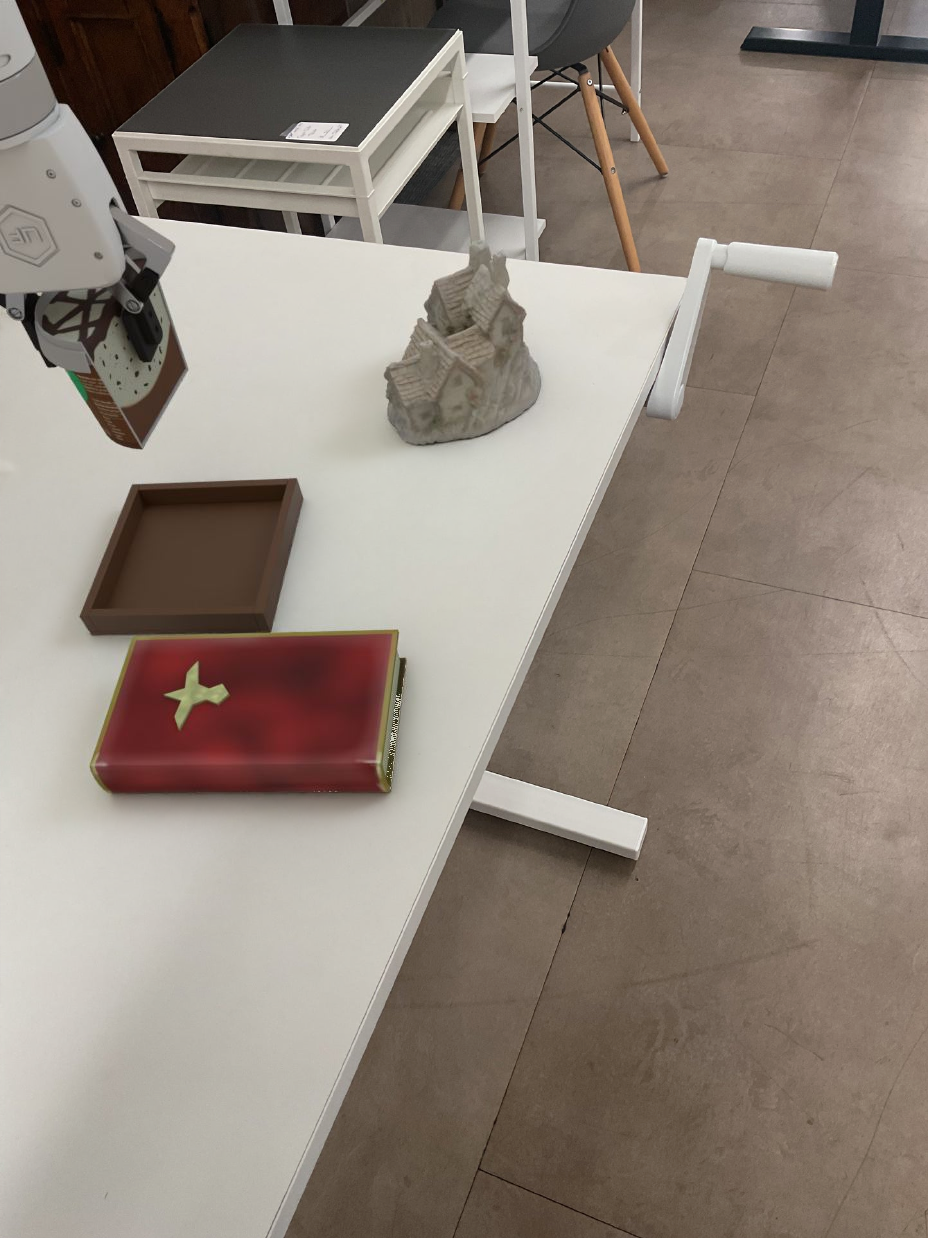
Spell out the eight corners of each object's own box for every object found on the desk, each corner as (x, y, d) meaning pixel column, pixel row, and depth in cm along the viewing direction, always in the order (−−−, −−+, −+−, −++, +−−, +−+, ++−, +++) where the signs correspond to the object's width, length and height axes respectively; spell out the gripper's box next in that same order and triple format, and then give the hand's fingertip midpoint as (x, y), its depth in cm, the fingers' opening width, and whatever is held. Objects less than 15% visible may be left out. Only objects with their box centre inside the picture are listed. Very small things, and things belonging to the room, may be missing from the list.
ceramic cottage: (509, 317, 105) (488, 185, 93) (562, 416, 95) (545, 282, 83) (367, 364, 105) (327, 237, 93) (406, 468, 95) (366, 341, 83)
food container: (125, 355, 81) (74, 242, 74) (195, 357, 80) (150, 242, 72) (58, 459, 74) (-7, 345, 66) (134, 463, 73) (77, 347, 65)
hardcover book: (390, 797, 71) (379, 766, 68) (109, 798, 74) (86, 768, 71) (406, 660, 79) (397, 627, 76) (150, 666, 81) (131, 633, 78)
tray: (91, 635, 84) (78, 616, 82) (141, 503, 94) (131, 483, 92) (270, 632, 82) (262, 613, 80) (303, 497, 92) (296, 477, 90)
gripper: (-177, 143, 58) (-25, 392, 72) (107, 118, 56) (208, 380, 70) (-121, 84, 63) (12, 329, 77) (143, 59, 60) (231, 315, 74)
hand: (104, 351), depth 73 cm, fingers closed on food container, 6 cm apart
